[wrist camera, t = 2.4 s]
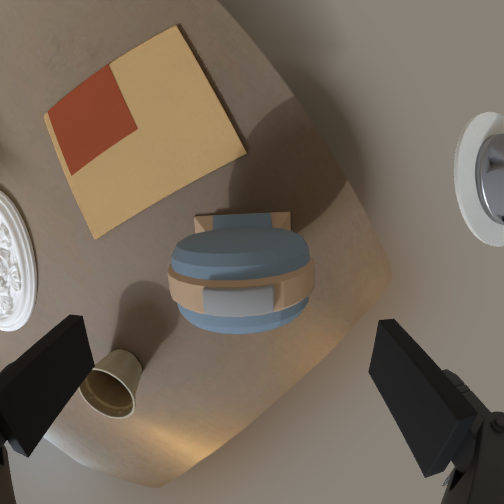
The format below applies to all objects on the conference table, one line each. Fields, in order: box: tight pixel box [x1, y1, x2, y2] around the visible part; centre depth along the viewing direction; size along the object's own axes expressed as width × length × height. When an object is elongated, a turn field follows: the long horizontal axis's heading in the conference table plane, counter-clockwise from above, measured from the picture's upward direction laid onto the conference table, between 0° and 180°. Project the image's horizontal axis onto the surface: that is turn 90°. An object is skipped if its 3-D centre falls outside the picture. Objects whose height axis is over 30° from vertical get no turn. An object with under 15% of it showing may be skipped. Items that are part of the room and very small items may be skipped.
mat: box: [44, 26, 247, 240], centre depth 35 cm, size 24×22×1 cm
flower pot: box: [78, 349, 142, 419], centre depth 40 cm, size 9×9×9 cm
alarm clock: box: [167, 212, 315, 334], centre depth 31 cm, size 14×10×18 cm
